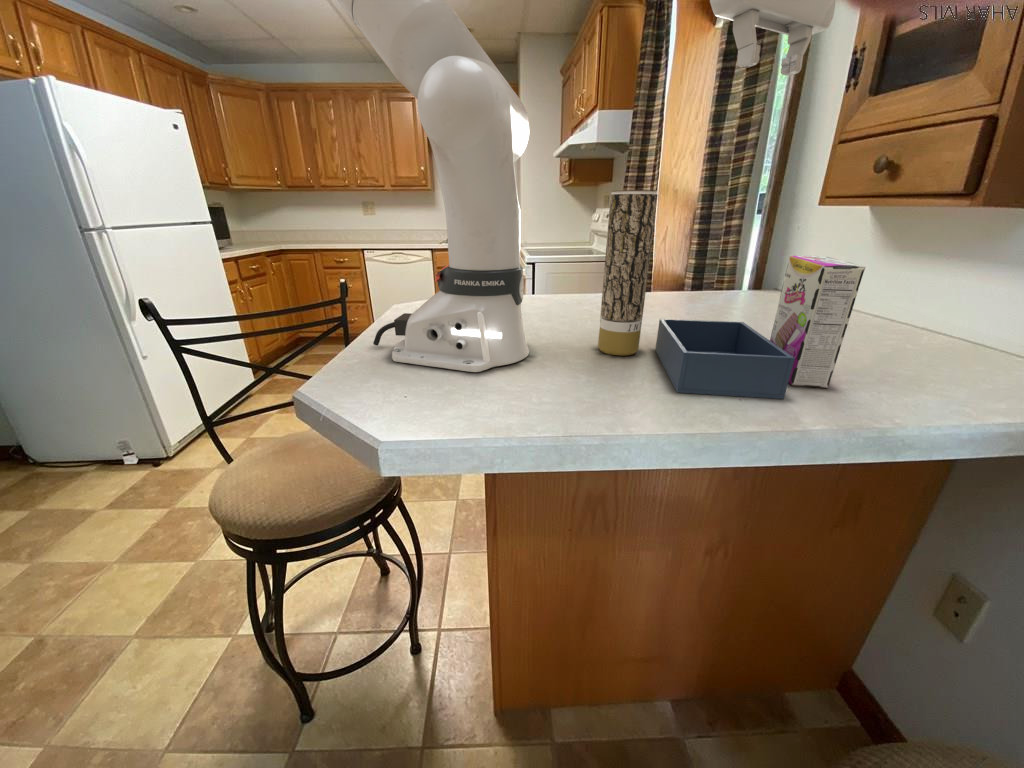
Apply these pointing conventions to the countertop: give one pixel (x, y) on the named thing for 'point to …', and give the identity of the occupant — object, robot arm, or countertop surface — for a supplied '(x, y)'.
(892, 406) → the countertop surface
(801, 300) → the candy bar box
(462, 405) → the countertop surface
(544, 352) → the countertop surface
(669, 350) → the tote
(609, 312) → the paper tube
